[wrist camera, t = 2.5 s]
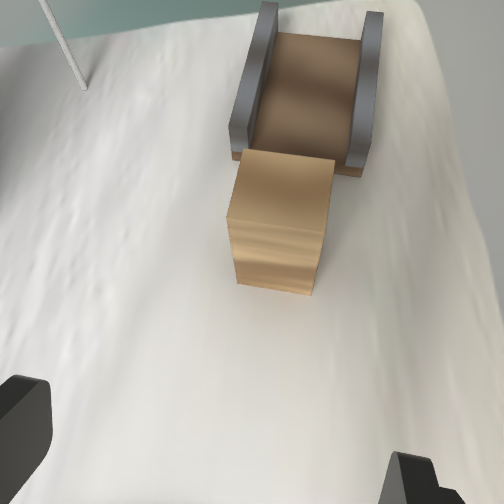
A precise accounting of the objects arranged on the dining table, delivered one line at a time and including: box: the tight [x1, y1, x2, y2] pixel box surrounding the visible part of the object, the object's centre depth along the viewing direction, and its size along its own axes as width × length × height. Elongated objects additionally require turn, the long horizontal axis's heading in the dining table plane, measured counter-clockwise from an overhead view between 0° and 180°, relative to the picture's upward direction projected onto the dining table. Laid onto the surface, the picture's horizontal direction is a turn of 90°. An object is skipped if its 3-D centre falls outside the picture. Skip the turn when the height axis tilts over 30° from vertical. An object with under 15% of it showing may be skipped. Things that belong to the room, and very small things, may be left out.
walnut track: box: [228, 2, 384, 177], centre depth 32 cm, size 12×9×4 cm
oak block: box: [226, 148, 335, 296], centre depth 25 cm, size 4×4×8 cm
